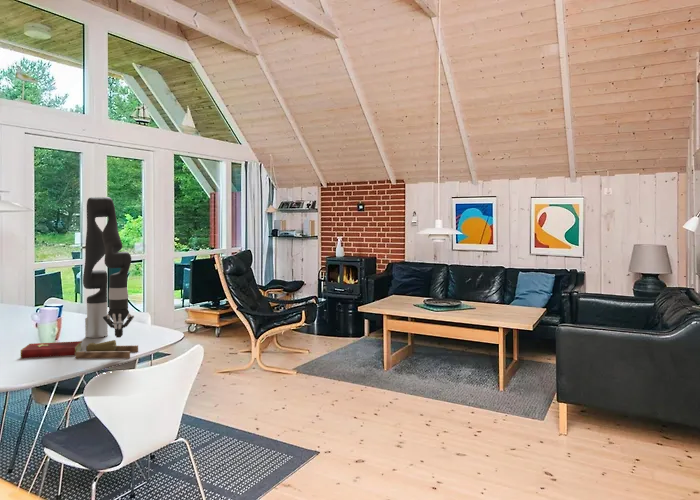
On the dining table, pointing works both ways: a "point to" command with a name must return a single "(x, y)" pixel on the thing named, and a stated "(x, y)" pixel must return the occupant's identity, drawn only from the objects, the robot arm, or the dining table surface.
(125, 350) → the brown flat piece
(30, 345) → the hardcover book
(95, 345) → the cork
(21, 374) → the dining table surface
